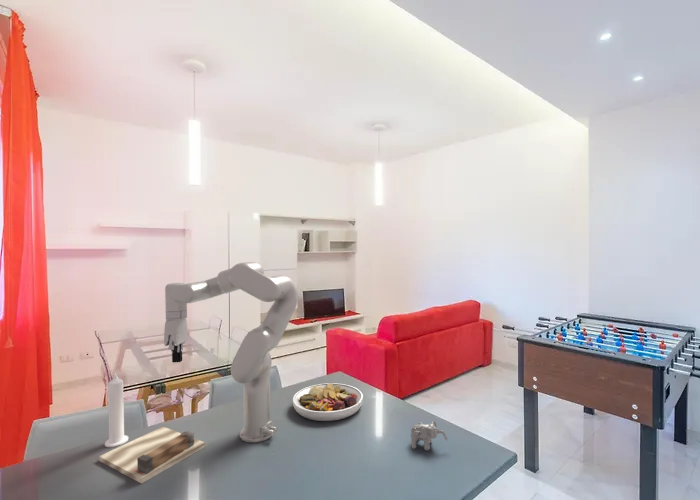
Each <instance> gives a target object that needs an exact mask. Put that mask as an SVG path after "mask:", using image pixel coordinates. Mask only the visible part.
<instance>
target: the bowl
mask: <svg viewBox="0 0 700 500" xmlns="http://www.w3.org/2000/svg"><path fill="white" fill-rule="evenodd" d="M363 402H364V394H363V392H361V390H359V388H357V387H354V386H352V385H348V384H344V383H331V382H330V383H328V382H327V383H320V384H319V383H318V384H314V385H310V386H307V387H304V388H302V389H300V390H298V391H297V392H296V393H295V394H294V395H293V396H292V405H293V407H294V410H295V411H296V412H297V413H298V415H300V416H301V417H303V418H306V419H308V420H312V421H318V422H332V421H333V422H334V421H339V420H342V419H346V418H348V417H350V416H352V415H354V414H355V413H357V412H358V411H359V410H360V408H361V406H362V405H363Z"/></svg>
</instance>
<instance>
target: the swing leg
mask: <svg viewBox="0 0 700 500" xmlns="http://www.w3.org/2000/svg"><path fill="white" fill-rule="evenodd" d="M194 438H195V432H194V430H187V431H184V432H181V435H179V436H178V437H176V438H174V439H172V440H171V441H169V442H167V443H165V444H164V445H162V446H160V447H158V448H157V449H155V450H153V451H151V452H150V453H148V454H146V455H142V456H140V457H138V458H137V466H138V471H140V472H143V473H146V474H147V473H148V472H150V471H152V470H153V469H154V468H156V467H157V466H159V465H160V464H162V463H164V462H165V461H167V460H168V459H170V458H172V457H173V456H175V455H176V454H178V453H180V452H181V451H183V450H184V449H186V448H188V447H190V446H192V445H193V444H194Z"/></svg>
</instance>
